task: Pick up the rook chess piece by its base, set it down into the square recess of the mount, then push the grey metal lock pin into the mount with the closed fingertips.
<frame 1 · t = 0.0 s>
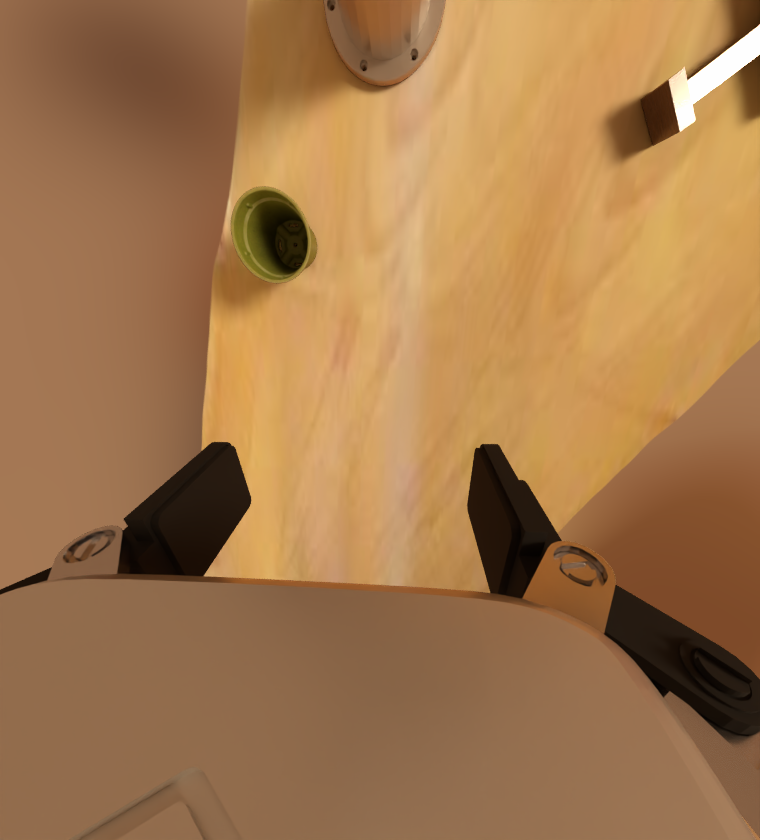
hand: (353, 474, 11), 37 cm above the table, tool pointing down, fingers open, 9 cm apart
lock pin: (723, 67, 28), point 2 cm above the table, slide at 0.0 cm
plant pot: (296, 245, 40), on the table
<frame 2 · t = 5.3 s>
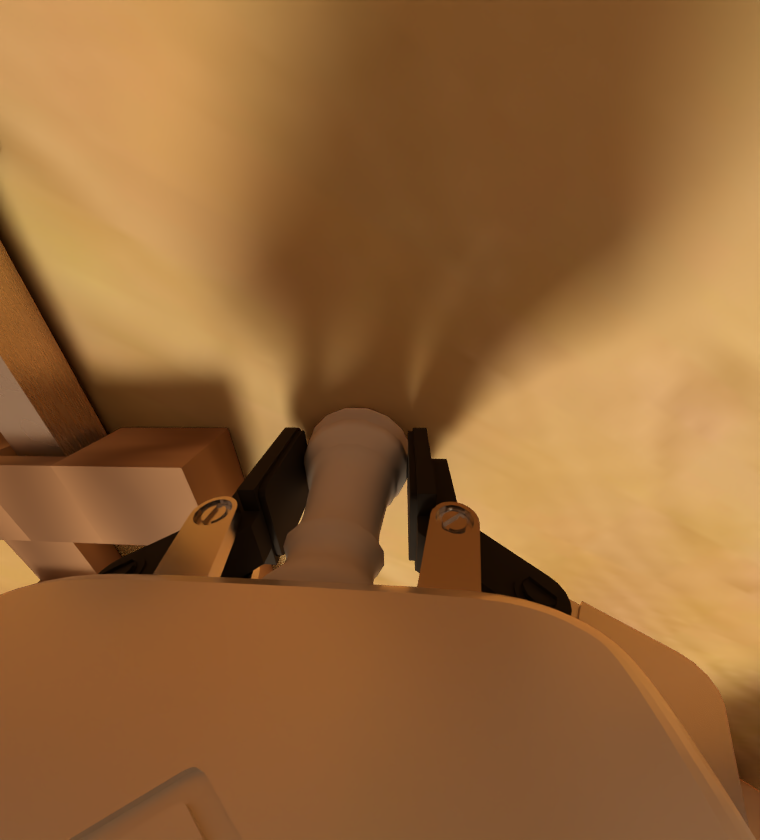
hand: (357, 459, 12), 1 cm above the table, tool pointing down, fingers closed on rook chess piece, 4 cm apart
rook chess piece: (361, 445, 13), on the table, touching gripper
mount: (147, 532, 16), on the table
chamber pot: (636, 777, 29), on the table
when the fingers open (2 cm above the table, at t = 11.0 s): rook chess piece drops 1 cm, resting in mount.
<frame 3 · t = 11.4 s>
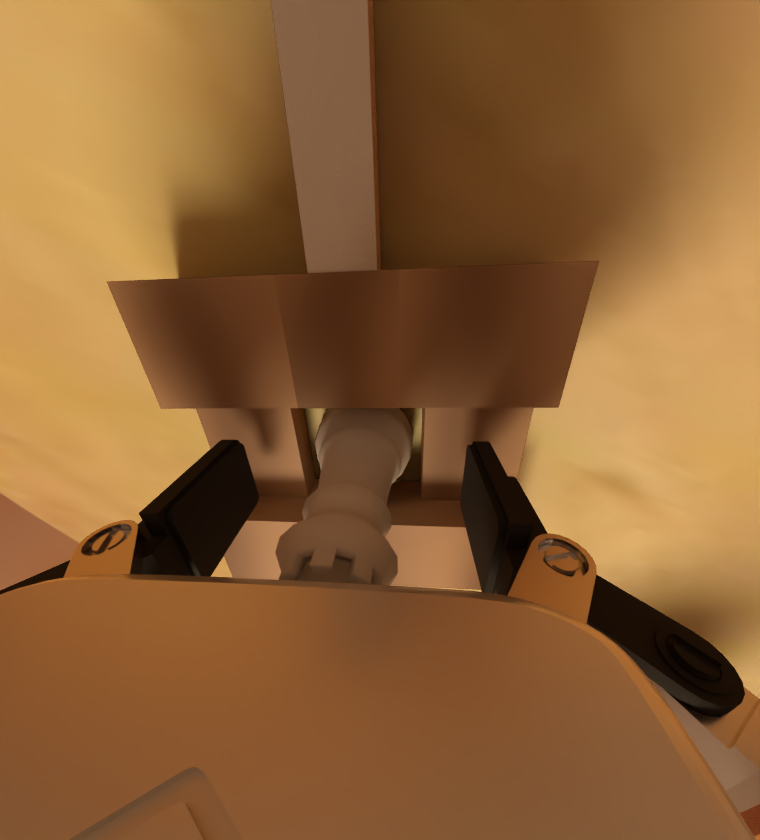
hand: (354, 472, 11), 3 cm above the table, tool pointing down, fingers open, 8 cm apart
rook chess piece: (367, 430, 14), resting in mount
lock pin: (320, 15, 6), point 2 cm above the table, slide at 0.0 cm
mount: (363, 434, 14), on the table
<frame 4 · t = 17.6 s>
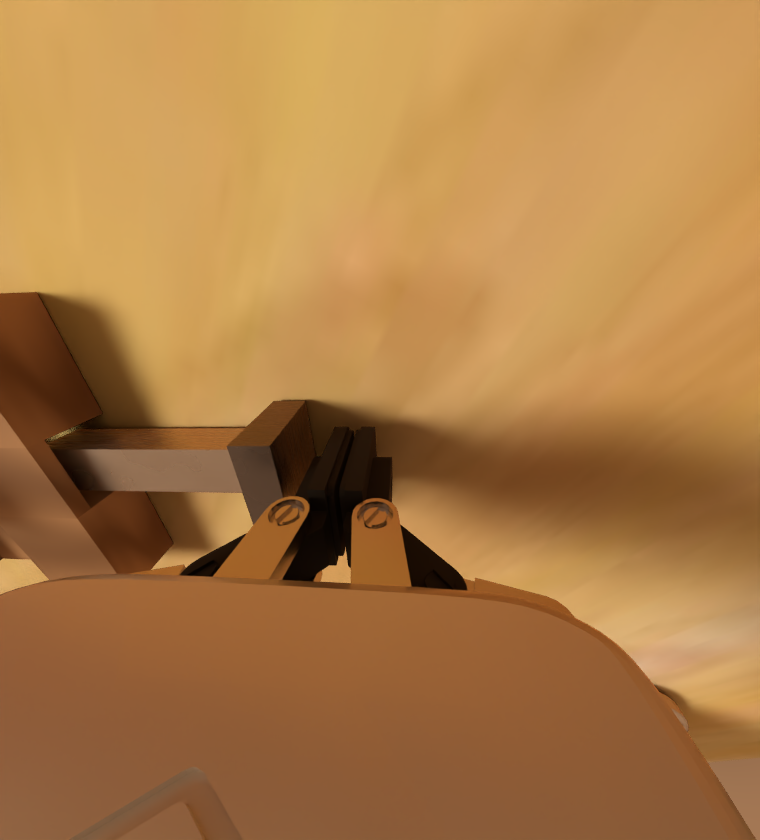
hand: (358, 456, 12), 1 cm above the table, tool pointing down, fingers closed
lock pin: (170, 471, 12), point 2 cm above the table, slide at 0.9 cm, touching gripper
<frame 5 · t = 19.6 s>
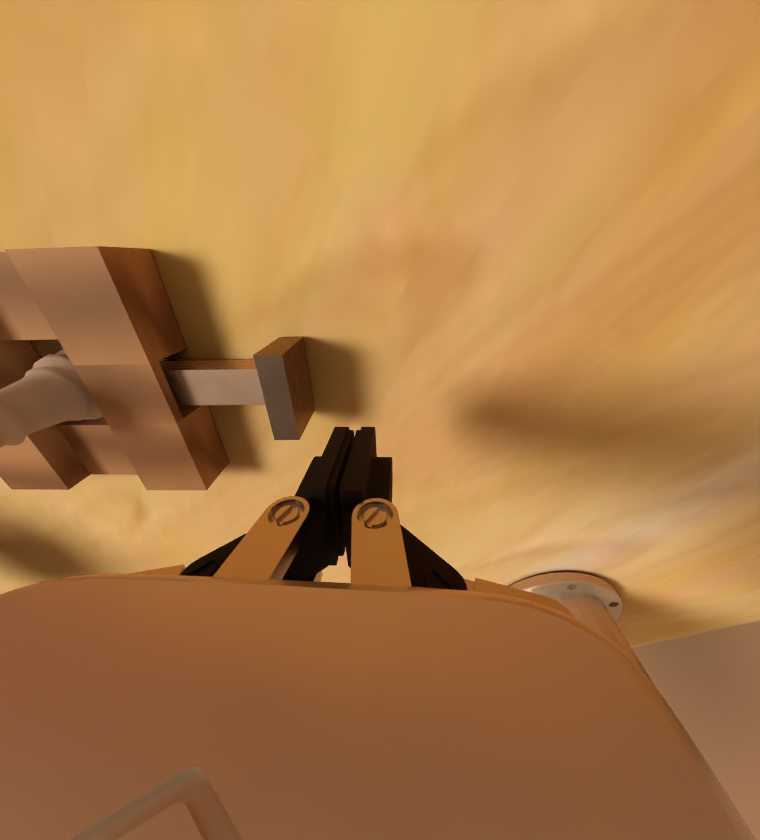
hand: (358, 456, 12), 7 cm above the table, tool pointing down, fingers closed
rook chess piece: (99, 378, 19), resting in mount
lock pin: (204, 388, 16), point 2 cm above the table, slide at 3.5 cm
mount: (93, 377, 18), on the table
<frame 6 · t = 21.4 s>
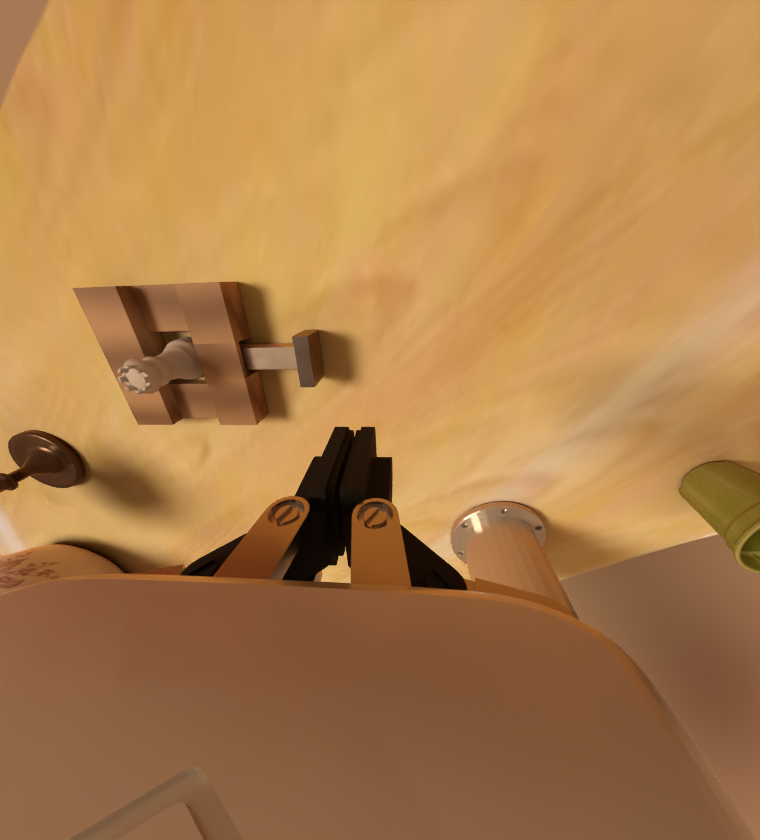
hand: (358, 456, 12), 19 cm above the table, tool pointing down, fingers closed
rook chess piece: (195, 356, 31), resting in mount
candlestick: (53, 457, 39), on the table
lock pin: (261, 358, 28), point 2 cm above the table, slide at 3.5 cm
plant pot: (706, 479, 33), on the table
mount: (193, 355, 31), on the table
chamber pot: (90, 570, 51), on the table
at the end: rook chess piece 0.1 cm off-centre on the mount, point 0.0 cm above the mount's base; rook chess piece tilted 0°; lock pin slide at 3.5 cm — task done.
